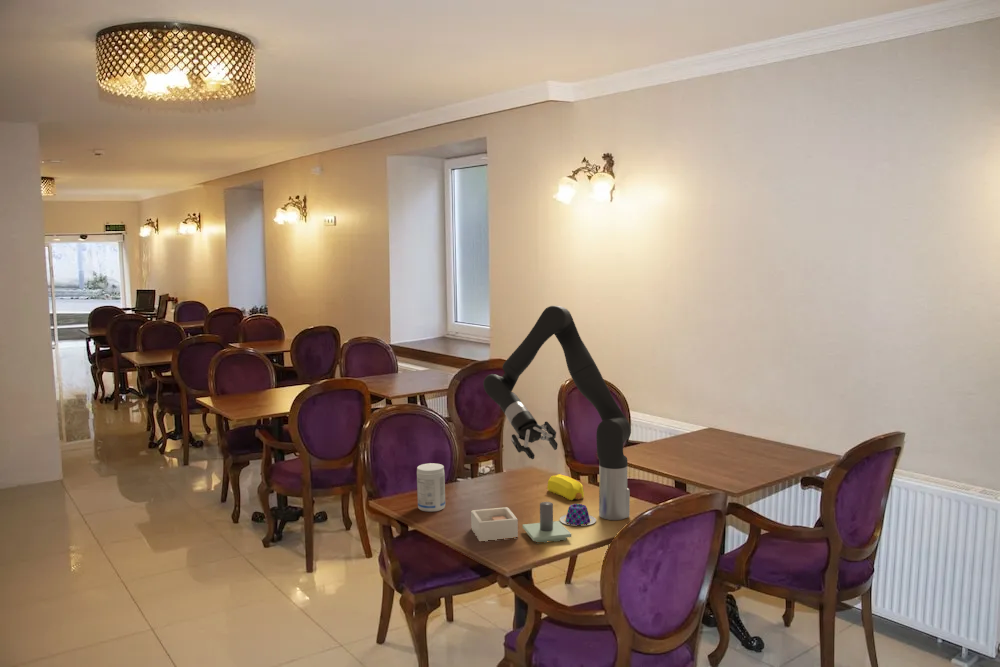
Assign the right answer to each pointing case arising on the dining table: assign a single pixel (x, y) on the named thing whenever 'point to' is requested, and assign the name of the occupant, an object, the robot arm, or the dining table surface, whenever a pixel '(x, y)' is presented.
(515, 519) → the storage box
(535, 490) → the dining table surface
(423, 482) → the supplement tub
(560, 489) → the yellow rounded loaf
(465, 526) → the dining table surface
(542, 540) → the lid
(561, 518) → the pudding
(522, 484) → the dining table surface
